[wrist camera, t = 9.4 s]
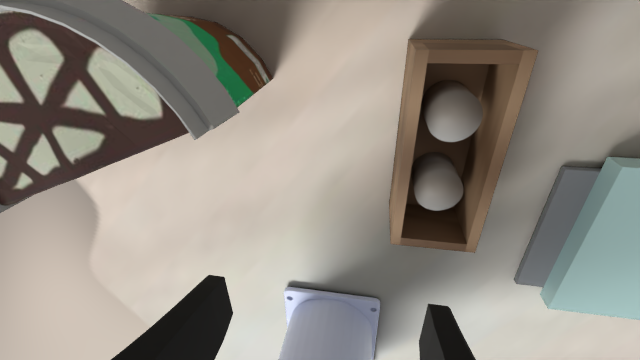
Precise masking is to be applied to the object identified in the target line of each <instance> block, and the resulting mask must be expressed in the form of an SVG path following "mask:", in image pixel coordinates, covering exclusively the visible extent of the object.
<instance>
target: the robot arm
mask: <svg viewBox="0 0 640 360" xmlns="http://www.w3.org/2000/svg"><path fill="white" fill-rule="evenodd" d="M284 299H285V309H286V319H287V332H286V335H285V338H284V342H283V345H282V349H281V352H280V356H279V359H278V360H373V359H374V351H375V344H376V336H377V328H378V320H379V312H380V301H379V300H378V299H377V298H371V297H364V296H356V295H349V294H341V293H333V292H326V291H318V290H311V289H303V288H295V287H286V288H285V290H284ZM232 315H233V311H232V307H231V303H230V299H229V295H228V291H227V286H226V282H225V278H224V277H220V276H213V275H208V276H207V277H206V278H205V279H204V280H203V281H201V282H200V283H199V284H198V285H197V286H196V287H195V288H194V289H193V290H192V291H191V292H190V293H188V294H187V295H186V296H185V297H184V298H183V299H182V300H181V301H180V302H179V303H178V304H177V305H175V306H174V307H173V308H172V309H171V310H170V311H169V312H168V313H166V314H165V315H164V316H163V317H162V318H161V319H160V320H159V321H157V322H156V323H155V324H154V325H153V326H152V327H151V328H149V329H148V330H147V331H146V332H145V333H143V334H142V335H141V336H140V337H139V338H137V339H136V340H135V341H134V342H133V343H131V344H130V345H129V346H128V347H126V348H125V349H124V350H123V351H121V352H120V353H119V354H118V355H116V356H115V357H114V358H112V359H111V360H214V359H215V357H216V355H217V353H218V351H219V349H220V347H221V345H222V343H223V340H224V337H225V335H226V332H227V329H228V326H229V324H230V321H231V318H232ZM419 348H420V360H476V359H475V357H474V356H473V354H472V352H471V350H470V348H469V346H468V344H467V342H466V340H465V339H464V337H463V335H462V333H461V331H460V329H459V326H458V324H457V322H456V320H455V318H454V316H453V314H452V311H451V309H450V308H449V307H448V306H442V305H434V304H428V307H427V311H426V315H425V319H424V324H423V328H422V332H421V336H420V340H419Z"/></svg>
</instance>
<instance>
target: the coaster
mask: <svg viewBox="0 0 640 360" xmlns="http://www.w3.org/2000/svg"><path fill="white" fill-rule="evenodd" d="M600 171H601V169H600V168H584V167H567V166H562V167H561V169H560V172H559V174H558V176H557V179H556V181H555V184H554V186H553V188H552V191H551V193H550V195H549V198H548V200H547V203H546V205H545V207H544V210H543V212H542V214H541V217H540V219H539V221H538V224H537V226H536V229H535V231H534V233H533V236H532V238H531V240H530V243H529V245H528V248H527V250H526V252H525V255H524V257H523V259H522V262H521V264H520V266H519V269H518V271H517V274H516V276H515V278H514V280H515V282H516V284H522V285H531V286H539V287H544V285H545V283H546V281H547V279H548V277H549V275H550V273H551V271H552V269H553V266H554V264H555V262H556V260H557V258H558V256H559V254H560V252H561V250H562V248H563V246H564V244H565V242H566V240H567V238H568V236H569V234H570V232H571V230H572V228H573V226H574V224H575V222H576V220H577V218H578V216H579V214H580V212H581V210H582V208H583V206H584V203H585V201H586V199H587V197H588V195H589V193H590V191H591V189H592V187H593V185H594V183H595V181H596V179H597V177H598V175H599V173H600Z"/></svg>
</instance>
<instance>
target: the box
mask: <svg viewBox="0 0 640 360" xmlns="http://www.w3.org/2000/svg"><path fill="white" fill-rule="evenodd" d="M537 53H538V50H535V49H532V48H529V47H525V46H522V45H519V44H515V43H512V42H509V41H505V40H449V39H408V48H407V56H406V65H405V73H404V82H403V90H402V99H401V107H400V116H399V124H398V133H397V141H396V150H395V158H394V167H393V175H392V183H391V192H390V200H389V215H390V242H391V244H396V245H406V246H415V247H425V248H435V249H444V250H454V251H464V252H473V253H475V251H476V248H477V244H478V241H479V238H480V235H481V232H482V228H483V225H484V222H485V219H486V216H487V213H488V209H489V206H490V203H491V200H492V197H493V193H494V190H495V187H496V184H497V181H498V178H499V174H500V171H501V168H502V165H503V162H504V158H505V155H506V152H507V149H508V146H509V143H510V139H511V136H512V133H513V130H514V127H515V123H516V120H517V117H518V114H519V111H520V108H521V104H522V101H523V98H524V95H525V92H526V88H527V85H528V82H529V79H530V76H531V72H532V69H533V66H534V63H535V60H536V57H537Z"/></svg>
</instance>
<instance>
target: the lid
mask: <svg viewBox="0 0 640 360" xmlns="http://www.w3.org/2000/svg"><path fill="white" fill-rule="evenodd" d="M540 295H541V297H542V299H543V301H544V302H545V304H546V306H547V308H548V309H555V310H563V311H571V312H579V313H588V314H596V315H604V316H612V317H620V318H628V319H636V320H640V158H621V157H607V159H606V161H605V163H604V165H603V167H602V169H601V171H600V173H599V175H598V177H597V179H596V181H595V183H594V185H593V187H592V189H591V191H590V193H589V195H588V197H587V199H586V201H585V203H584V206H583V208H582V210H581V212H580V214H579V216H578V218H577V220H576V222H575V224H574V226H573V228H572V230H571V232H570V234H569V236H568V238H567V240H566V242H565V244H564V246H563V248H562V250H561V252H560V254H559V256H558V258H557V260H556V262H555V264H554V266H553V269H552V271H551V273H550V275H549V277H548V279H547V281H546V283H545V285H544V287H543V289H542V291H541V293H540Z"/></svg>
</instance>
